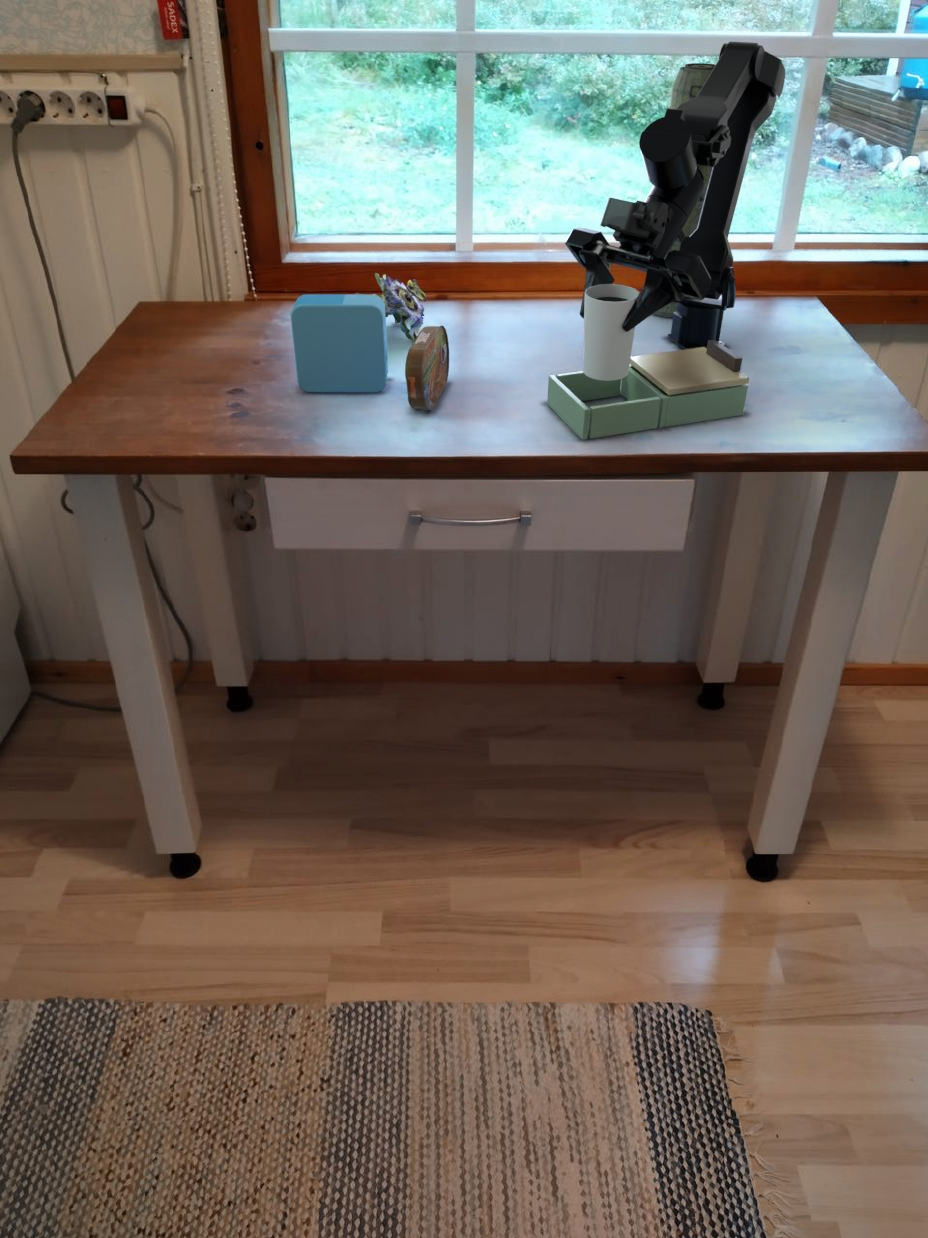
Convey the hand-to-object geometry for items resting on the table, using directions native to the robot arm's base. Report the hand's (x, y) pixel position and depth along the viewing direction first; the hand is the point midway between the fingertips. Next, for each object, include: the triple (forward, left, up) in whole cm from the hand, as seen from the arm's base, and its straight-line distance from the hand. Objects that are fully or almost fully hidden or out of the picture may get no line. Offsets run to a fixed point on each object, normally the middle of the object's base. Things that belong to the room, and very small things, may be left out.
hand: (602, 323), depth 121 cm
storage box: (-7, 0, -12) cm, 14 cm away
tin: (+19, -13, -13) cm, 26 cm away
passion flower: (+18, -36, -13) cm, 42 cm away
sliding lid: (-13, 0, -8) cm, 15 cm away
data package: (+29, -20, -13) cm, 37 cm away
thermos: (-29, -34, -12) cm, 47 cm away
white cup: (-1, -1, -7) cm, 7 cm away
